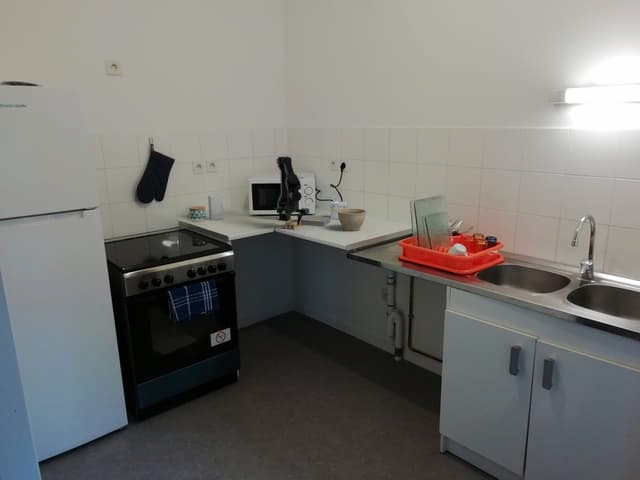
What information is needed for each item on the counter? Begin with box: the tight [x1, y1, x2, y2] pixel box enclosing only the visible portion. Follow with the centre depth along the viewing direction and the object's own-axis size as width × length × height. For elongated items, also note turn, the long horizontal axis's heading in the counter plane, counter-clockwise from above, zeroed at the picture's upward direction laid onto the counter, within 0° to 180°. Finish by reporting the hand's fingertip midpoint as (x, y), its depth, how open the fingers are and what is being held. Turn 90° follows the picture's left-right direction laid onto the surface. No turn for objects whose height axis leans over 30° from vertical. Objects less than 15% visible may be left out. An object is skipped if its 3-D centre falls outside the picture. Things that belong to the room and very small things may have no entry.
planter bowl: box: [338, 208, 367, 232], centre depth 286 cm, size 16×16×11 cm
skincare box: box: [207, 193, 225, 222], centre depth 315 cm, size 8×7×16 cm
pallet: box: [284, 218, 302, 230], centre depth 292 cm, size 6×10×4 cm, turn 161°
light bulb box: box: [330, 201, 348, 220], centre depth 317 cm, size 11×7×11 cm, turn 84°
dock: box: [301, 215, 331, 227], centre depth 303 cm, size 16×13×3 cm
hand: (293, 225), depth 292 cm, fingers closed on pallet, 6 cm apart
